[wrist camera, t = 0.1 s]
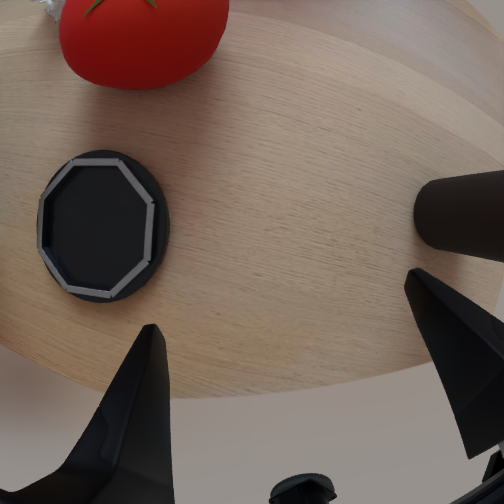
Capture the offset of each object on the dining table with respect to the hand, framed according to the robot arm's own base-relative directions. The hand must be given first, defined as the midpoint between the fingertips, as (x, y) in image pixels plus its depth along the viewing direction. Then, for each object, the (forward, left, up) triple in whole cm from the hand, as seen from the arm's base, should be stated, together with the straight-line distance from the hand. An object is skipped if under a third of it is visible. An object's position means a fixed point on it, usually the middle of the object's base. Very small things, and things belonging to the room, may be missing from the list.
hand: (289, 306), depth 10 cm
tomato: (+21, -5, -16) cm, 26 cm away
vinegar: (-8, -16, -16) cm, 24 cm away
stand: (+11, +9, -15) cm, 21 cm away
